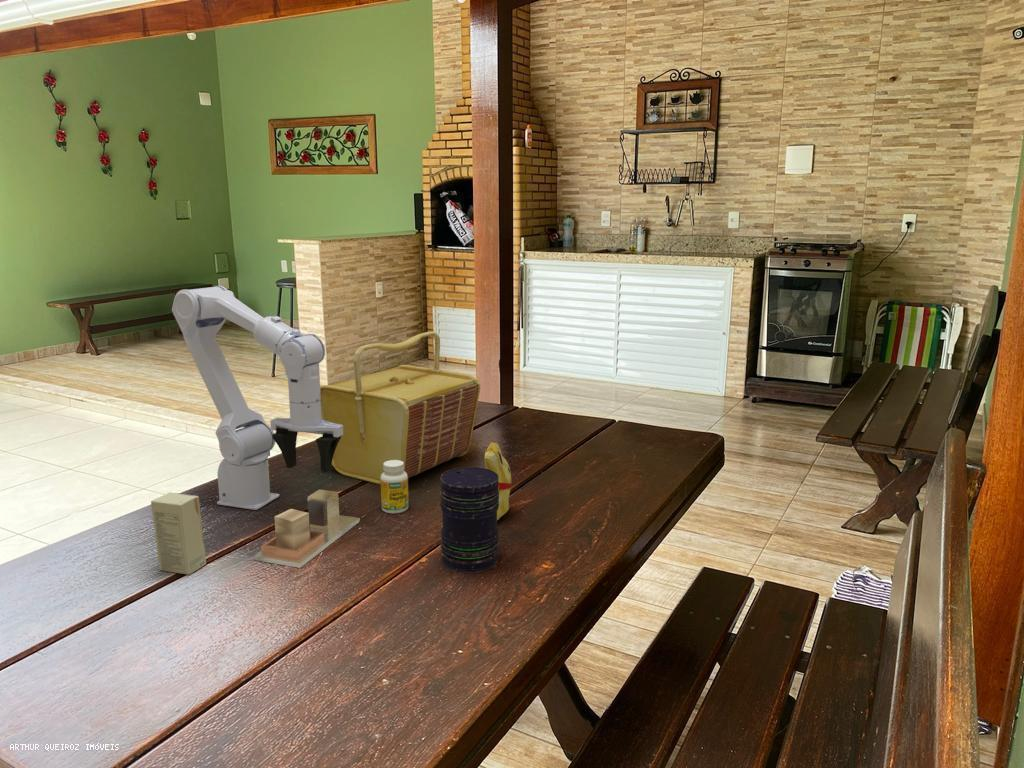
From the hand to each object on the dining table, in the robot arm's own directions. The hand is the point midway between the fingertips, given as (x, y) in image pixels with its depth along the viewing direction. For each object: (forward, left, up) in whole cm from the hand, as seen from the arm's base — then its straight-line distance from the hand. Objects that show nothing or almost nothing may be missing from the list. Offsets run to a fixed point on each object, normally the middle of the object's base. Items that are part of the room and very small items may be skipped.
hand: (308, 468), depth 145 cm
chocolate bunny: (+33, +11, -10) cm, 36 cm away
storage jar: (+36, -8, -10) cm, 38 cm away
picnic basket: (+4, +32, -10) cm, 34 cm away
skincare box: (-8, -26, -10) cm, 29 cm away
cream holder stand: (+6, -10, -9) cm, 15 cm away
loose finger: (+6, -15, -9) cm, 18 cm away
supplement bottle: (+14, +8, -10) cm, 19 cm away
